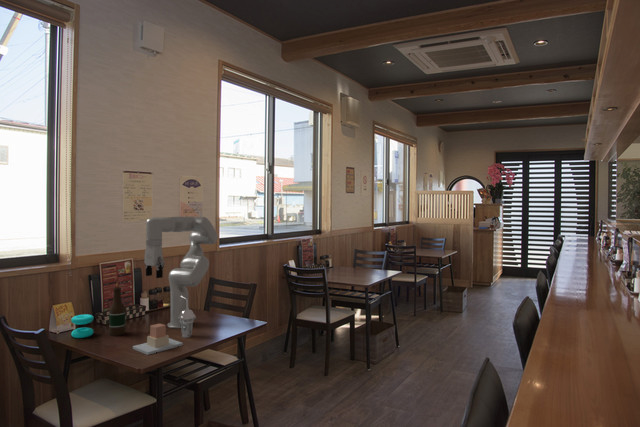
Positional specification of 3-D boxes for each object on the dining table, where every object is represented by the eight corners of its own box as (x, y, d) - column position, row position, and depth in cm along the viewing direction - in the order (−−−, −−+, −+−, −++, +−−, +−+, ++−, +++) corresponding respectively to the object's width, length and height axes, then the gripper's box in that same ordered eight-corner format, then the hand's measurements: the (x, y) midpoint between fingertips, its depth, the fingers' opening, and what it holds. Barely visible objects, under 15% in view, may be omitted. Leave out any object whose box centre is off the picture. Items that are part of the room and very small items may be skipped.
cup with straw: (179, 339, 225) (179, 299, 224) (176, 334, 233) (176, 296, 232) (197, 337, 229) (197, 297, 228) (193, 332, 237) (193, 294, 236)
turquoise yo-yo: (89, 312, 237) (96, 316, 230) (89, 331, 237) (96, 335, 230) (68, 316, 229) (75, 319, 223) (68, 335, 230) (75, 340, 223)
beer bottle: (128, 332, 236) (128, 286, 235) (117, 336, 229) (117, 289, 228) (117, 331, 238) (117, 285, 238) (105, 335, 231) (105, 288, 231)
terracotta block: (159, 333, 216) (159, 323, 216) (165, 335, 213) (165, 325, 213) (150, 336, 212) (150, 325, 212) (156, 338, 209) (156, 327, 209)
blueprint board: (167, 340, 224) (167, 329, 224) (182, 345, 216) (182, 334, 216) (132, 348, 210) (132, 337, 210) (147, 354, 202) (147, 343, 202)
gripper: (138, 242, 231) (138, 275, 232) (156, 244, 220) (156, 279, 221) (151, 241, 237) (151, 274, 238) (170, 243, 226) (170, 277, 227)
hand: (154, 276), depth 229 cm, fingers open, 9 cm apart
